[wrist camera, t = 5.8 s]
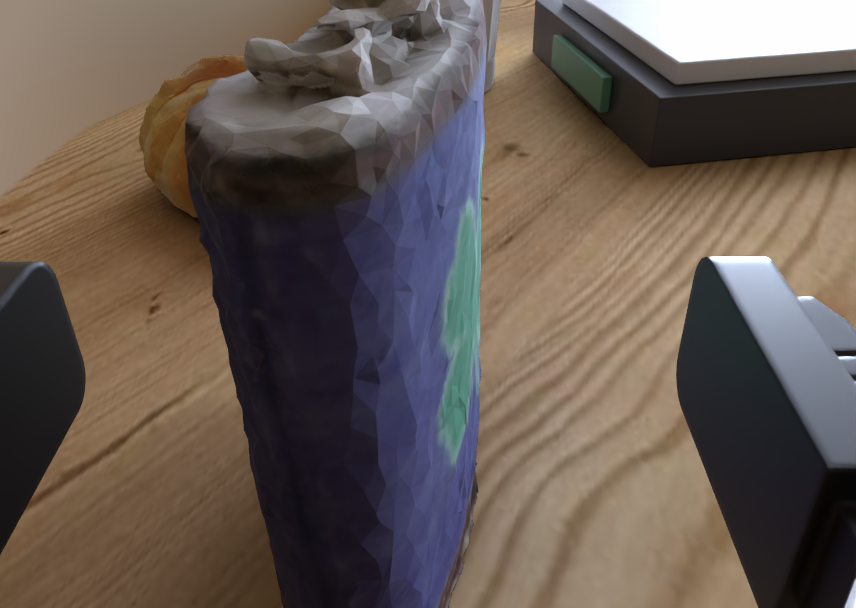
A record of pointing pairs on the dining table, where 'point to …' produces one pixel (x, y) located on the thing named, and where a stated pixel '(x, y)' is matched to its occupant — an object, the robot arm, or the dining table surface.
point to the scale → (708, 73)
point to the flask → (353, 290)
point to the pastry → (178, 125)
